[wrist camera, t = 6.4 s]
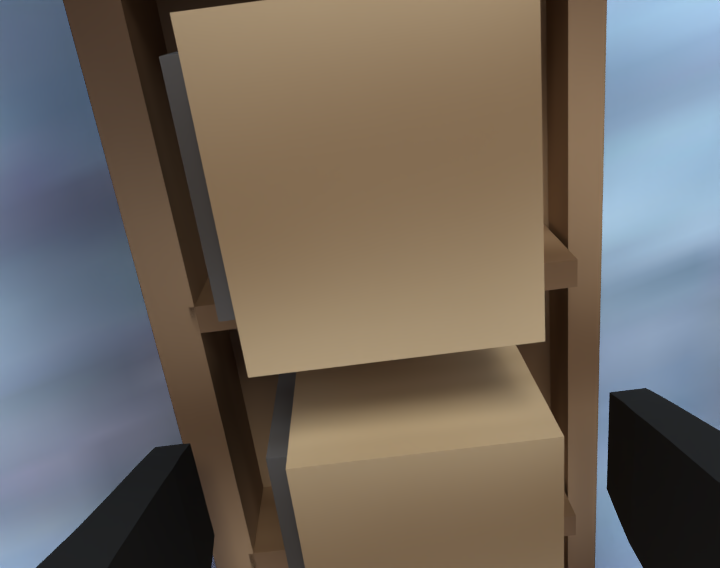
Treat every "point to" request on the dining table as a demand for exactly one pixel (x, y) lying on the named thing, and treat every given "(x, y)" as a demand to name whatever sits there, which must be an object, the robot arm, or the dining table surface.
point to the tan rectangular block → (418, 465)
